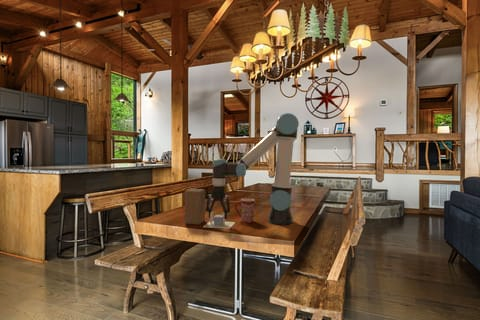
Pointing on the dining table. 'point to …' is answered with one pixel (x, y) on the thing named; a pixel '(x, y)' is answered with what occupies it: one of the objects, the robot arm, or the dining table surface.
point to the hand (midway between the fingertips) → (217, 223)
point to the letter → (225, 226)
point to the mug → (246, 210)
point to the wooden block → (194, 206)
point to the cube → (218, 220)
